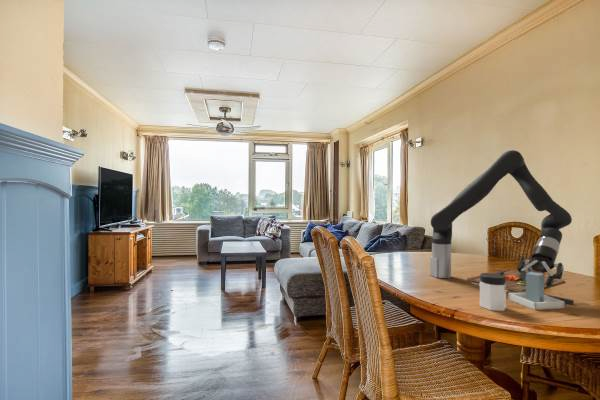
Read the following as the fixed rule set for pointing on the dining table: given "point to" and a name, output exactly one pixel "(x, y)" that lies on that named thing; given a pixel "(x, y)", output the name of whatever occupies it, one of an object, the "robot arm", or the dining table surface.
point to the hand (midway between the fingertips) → (534, 283)
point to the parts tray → (547, 304)
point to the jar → (493, 291)
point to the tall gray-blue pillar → (535, 287)
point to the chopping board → (513, 281)
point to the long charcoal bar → (562, 299)
